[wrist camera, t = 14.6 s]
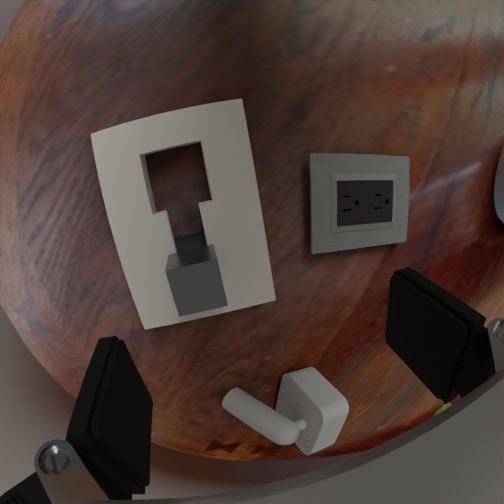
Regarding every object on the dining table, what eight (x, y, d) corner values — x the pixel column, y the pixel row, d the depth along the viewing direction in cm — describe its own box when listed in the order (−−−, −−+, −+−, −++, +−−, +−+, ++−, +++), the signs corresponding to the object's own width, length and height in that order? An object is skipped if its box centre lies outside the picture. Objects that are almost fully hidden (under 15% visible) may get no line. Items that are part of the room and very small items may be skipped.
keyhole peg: (169, 238, 29) (161, 268, 21) (211, 229, 30) (219, 255, 22) (180, 278, 31) (177, 319, 23) (220, 268, 31) (230, 307, 23)
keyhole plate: (100, 136, 25) (90, 133, 22) (237, 104, 26) (241, 98, 24) (148, 315, 31) (144, 329, 28) (268, 288, 33) (275, 300, 30)
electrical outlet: (398, 156, 32) (410, 157, 30) (396, 237, 35) (407, 242, 33) (302, 153, 30) (310, 153, 27) (304, 248, 33) (312, 255, 31)
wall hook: (218, 371, 34) (260, 439, 24) (300, 353, 40) (352, 404, 30) (217, 418, 37) (252, 480, 27) (289, 399, 42) (332, 448, 32)
